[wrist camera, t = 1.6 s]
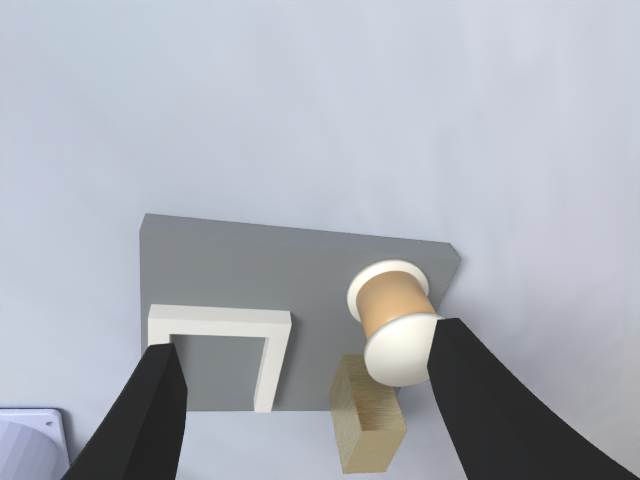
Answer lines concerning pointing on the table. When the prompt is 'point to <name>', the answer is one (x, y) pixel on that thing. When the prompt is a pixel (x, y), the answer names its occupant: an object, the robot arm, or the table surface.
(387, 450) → the brass tab
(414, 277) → the spool
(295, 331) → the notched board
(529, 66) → the table surface
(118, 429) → the robot arm
